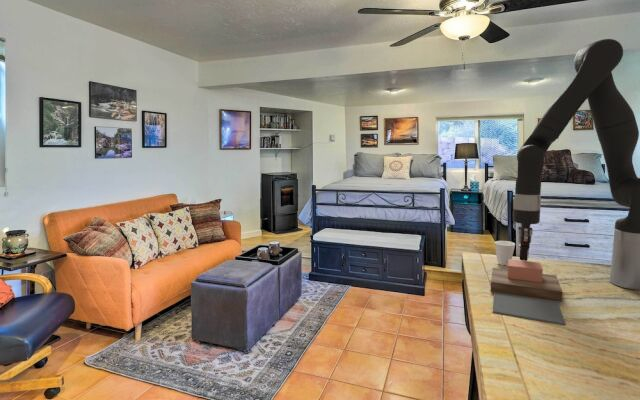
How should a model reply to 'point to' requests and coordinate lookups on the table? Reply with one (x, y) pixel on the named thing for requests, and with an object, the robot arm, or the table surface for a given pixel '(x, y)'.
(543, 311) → the mat
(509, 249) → the cup
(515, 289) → the platform
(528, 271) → the block
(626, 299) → the table surface
